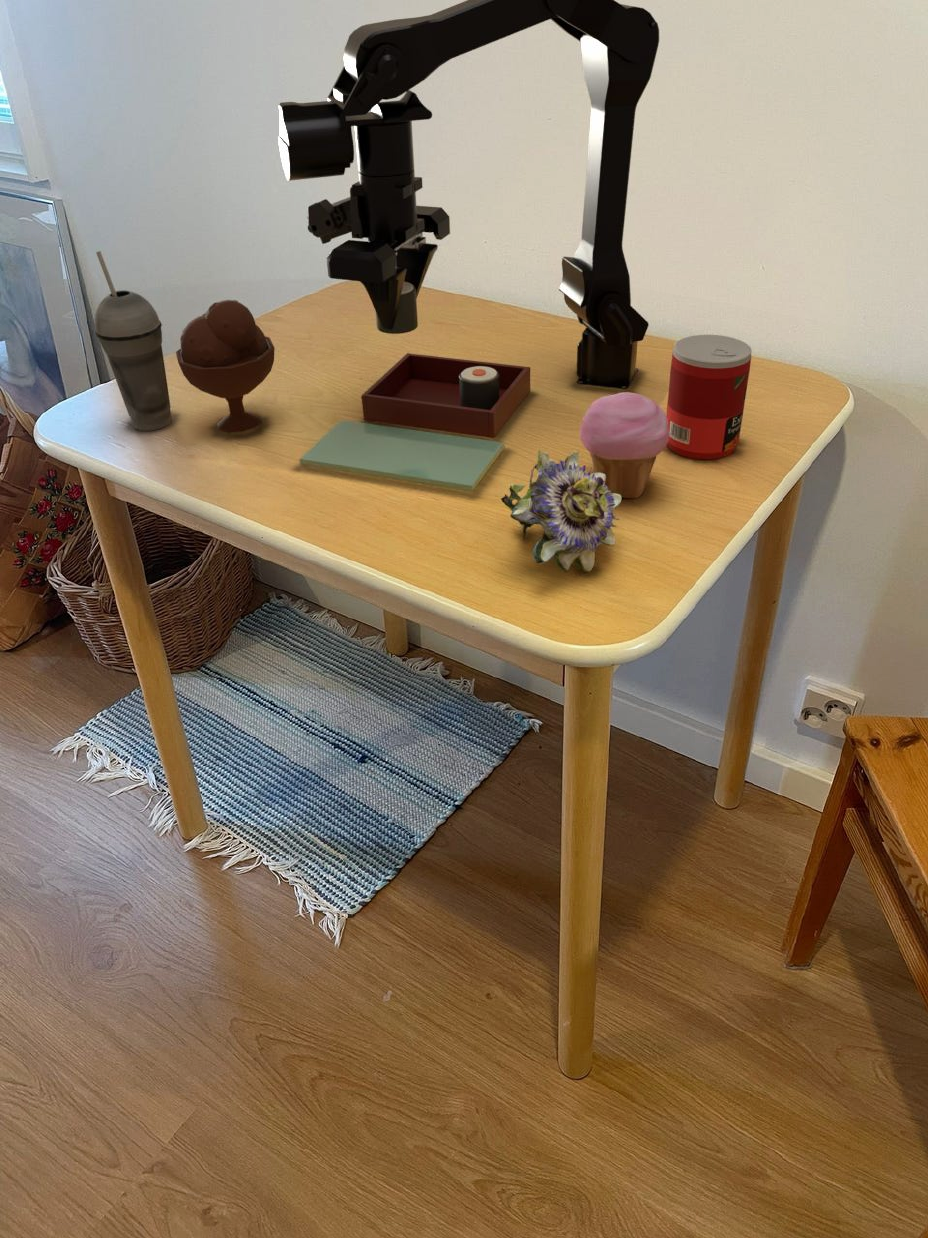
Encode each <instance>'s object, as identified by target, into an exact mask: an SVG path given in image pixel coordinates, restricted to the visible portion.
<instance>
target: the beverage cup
mask: <svg viewBox="0 0 928 1238" xmlns="http://www.w3.org/2000/svg"><path fill="white" fill-rule="evenodd" d="M95 252H96V256H97V259H98V261H99V265H100V266H101V269H102V272H103V274H104V278H105V280H106V283H107V285H108V288H109V291H110V293H109V294H107V295H106V296H104V297H103V299H101V301H100V302H99V304H98V306H97V308H96V311H95V315H94V328H95V330H94V331H95V332H94V333H95V336H96V338H97V339H98V341H99V343H100V345H101V347H102V349H103V351H104V354H106V357H107V359H108V362H109V365H110V368H111V370H112V373H113V376H114V378H115V381H116V384H117V386H118V389H119V392H120V395H121V397H122V400H123V403H124V405H125V408H126V411H127V414H128V416H129V418H130V421H131V422H132V425H133V428H134V429H136V430H138V431H142V432H149V431H156V430H160V429H163V428H165V427H167V426H168V425H170V424H171V423H172V419H173V418H172V415H171V414H172V412H171V411H172V410H171V402H170V401H171V400H170V394H169V393H170V392H169V387H168V379H167V372H166V366H165V359H164V352H163V345H162V343H163V331H162V322H161V320H160V317H159V315H158V313H157V311H156V310H155V308H154V306H153V305H152V304H151V302H150V301H149V300H147V298H145V296H143V295H141V294H139V293H136V292H134V291H131V290H116V289H115V286H114V283H113V281H112V278H111V276H110V273H109V270H108V267H107V265H106V262H105V260H104V257H103V255H102V251H101V250H98V251H95Z"/></svg>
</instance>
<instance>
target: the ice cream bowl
mask: <svg viewBox="0 0 928 1238" xmlns="http://www.w3.org/2000/svg"><path fill="white" fill-rule="evenodd" d="M179 341H180V345H179V346H180V348H179V349H178V350H177V351H175V355H176V360H177V363H178V366H179V368H180V370H181V372H182V374H183V376H184V378H185V379H186V380H187V381H188V383H189V384H190V385H192V386H193V387H194V388H197V389H198V390H199V391H201V392H204V393H206V394H208V395H211V396H213V397H217V398H220V399H225V400H226V402H227V405H228V411H229V413H228V414H227V415H226V416H224V417H222V419H220V421H218V422H217V423H216V427H218V430H220V431H223V432H226V433H245V432H247V431H250V430H253V429H256V428H257V427H258V426H259V425H260V424H261V423H262V419H261V417H260V415H257V414H254V413H250V412H247V411H245V405H244V403H243V400H244V396H245V395H248V394H250V393H251V392H252V391H253V390H255V389H256V388H257V387H258V386H259V385H261V384H262V383H263V382H264V381H265V379H266V378H267V376H268V375H269V374H270V373H271V372H272V369H273V366H274V363H275V350H276V349H275V346H274V343H273V342H272V339H271V338H270V337H269V336H267V335H265V333H264V332H263V330H262V329H261V327H260V326H259V325H257V324H256V321H255V318H254V316H253V313H252V312H251V311H250V309H249V308H248V307H247V306H246V305H245V304H243V303H241V302H239V301H238V300H237V299H225V300H220V301H216V302H213V303H212V304H210V306H209V307H208V309H207V310H206V312H205V313H203V314H201V315H199V316H197V317H195V318H193V319H192V320H191V321H189V322H188V323H187V325H186V326H185V327H184V328H183V330H182V332H181V336H180V340H179Z"/></svg>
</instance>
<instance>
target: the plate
mask: <svg viewBox="0 0 928 1238" xmlns="http://www.w3.org/2000/svg"><path fill="white" fill-rule="evenodd" d="M504 450H505V442H501V441H494V440H487V439H480V438H472V437H465V436H459V435H450V434H444V433H437V432H430V431H423V430H416V429H409V428H402V427H395V426H389V425H380V424H373V423H366V422H359V421H351V420H344V419H341V420H340V421H339V422H337V424H335V425H334V426H333V427H331V429H330V430H328V432H327V433H325V434H324V435H323V437H321V438H320V439H319V440H318V441H317V442H316V443H315V444H314V445H313V446H311V447H310V448H309V449H308V450H307V451H306V452H305V453H304V454H303V455H302V456H301V457H300V458H299V463H300V465H303V466H309V467H316V468H323V469H329V470H335V471H341V472H346V473H347V472H348V473H353V474H360V475H367V476H374V477H379V478H384V479H385V478H386V479H392V480H398V481H404V482H411V483H417V484H423V485H430V486H436V487H442V488H449V489H456V490H461V491H467V492H473V491H474V490H475V489H476V487H477V486H478V485H479V483H480V482H481V481H482V479H483V478H484V477H485V475H486V474H487V473H488V471H489V470H490V468H491V467H492V466H493V464H494V463H495V462H496V460H497V459H498V457H500V455H501V454H502V452H503V451H504Z"/></svg>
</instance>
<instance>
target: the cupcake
mask: <svg viewBox="0 0 928 1238" xmlns="http://www.w3.org/2000/svg"><path fill="white" fill-rule="evenodd" d="M666 415H667V414H666V413H665V411H664V410H663V408H662V407H661V406H660V405H658V404H657V403H656V401H653V400H652V399H650V398H649V397H647V396H646V395H643V394H639V393H636V392H628V391H627V392H626V391H625V392H624V391H623V392H618V393H615V394H612V395H604V396H602V397H599V398H597V399H596V400H594V401H593V402H592V404H590V406H589V407H588V409H587V410H586V413H585V414H584V416H583V419H582V420H581V425H580V431H579V438H580V442H581V444H582V446H583V447H584V448H585V450H586V451H588V452H589V454H590V457H591V460H592V467H593V473H599V472H600V473H603V474H605V475H606V479H605V484H604V485H606V486H607V487H608V488H609V489H608V490H609V491H610V490H611V492H610V493H612V494H613V493H615V494H619V495H621V497H622V498H627V499H637V498H638V497H641V496H642V494H643V492H644V490H645V487H646V486H647V483H648V480H649V478H650V475H651V472H652V470H653V467H654V466H655V462H656V460H657V456H658V455H659V454H660V453H662V452H663V451H664V449H665V448H666V447H667V443H668V440H669V436H670V434H669V426H668V419H667V417H666Z"/></svg>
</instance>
